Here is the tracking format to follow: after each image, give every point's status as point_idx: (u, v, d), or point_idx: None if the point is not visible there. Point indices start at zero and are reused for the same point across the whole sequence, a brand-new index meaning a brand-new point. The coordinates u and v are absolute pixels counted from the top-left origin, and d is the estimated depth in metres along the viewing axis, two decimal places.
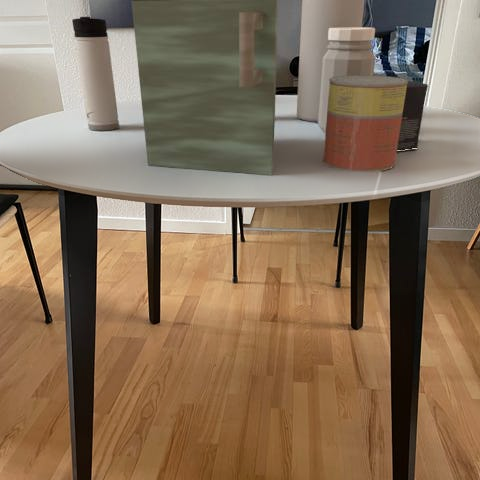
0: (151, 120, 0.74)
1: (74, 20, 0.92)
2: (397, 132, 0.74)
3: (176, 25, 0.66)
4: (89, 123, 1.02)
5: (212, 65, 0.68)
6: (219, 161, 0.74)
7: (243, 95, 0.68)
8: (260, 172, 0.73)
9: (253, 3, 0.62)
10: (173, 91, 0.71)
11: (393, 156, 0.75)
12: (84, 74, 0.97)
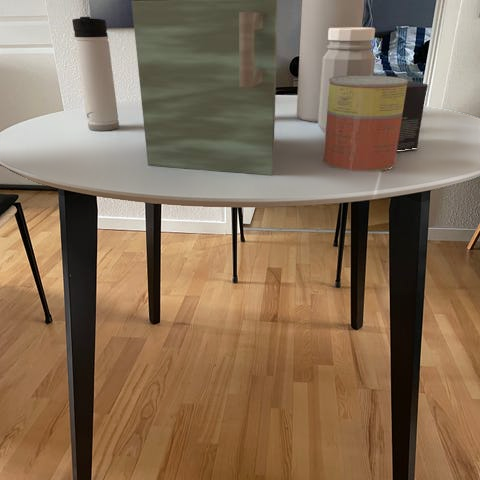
0: (151, 120, 0.74)
1: (74, 20, 0.92)
2: (397, 132, 0.74)
3: (176, 25, 0.66)
4: (89, 123, 1.02)
5: (212, 65, 0.68)
6: (219, 161, 0.74)
7: (243, 95, 0.68)
8: (260, 172, 0.73)
9: (253, 3, 0.62)
10: (173, 91, 0.71)
11: (393, 156, 0.75)
12: (84, 74, 0.97)
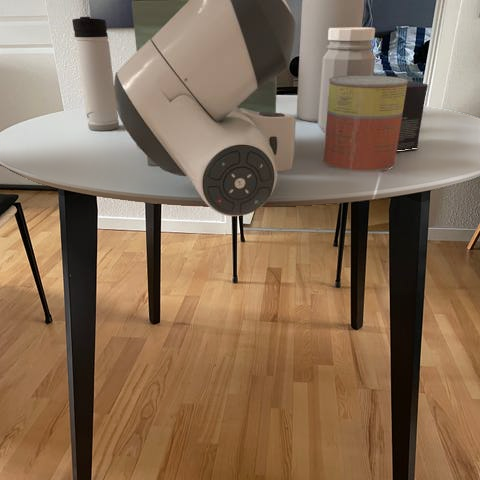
0: None
1: (74, 20, 0.92)
2: (397, 132, 0.74)
3: None
4: (89, 123, 1.02)
5: None
6: None
7: None
8: None
9: None
10: None
11: (393, 156, 0.75)
12: (84, 74, 0.97)
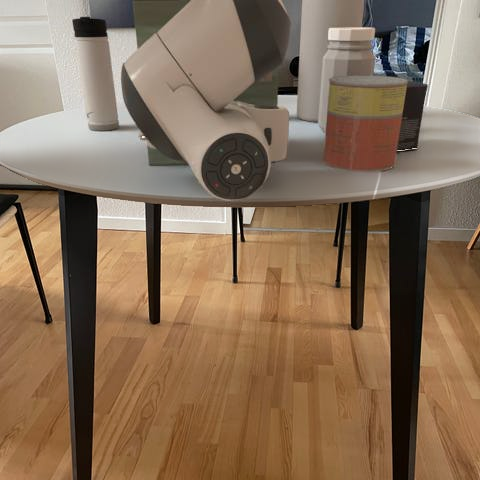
0: None
1: (74, 20, 0.92)
2: (397, 132, 0.74)
3: None
4: (89, 123, 1.02)
5: None
6: None
7: (249, 89, 0.73)
8: None
9: None
10: None
11: (393, 156, 0.75)
12: (84, 74, 0.97)
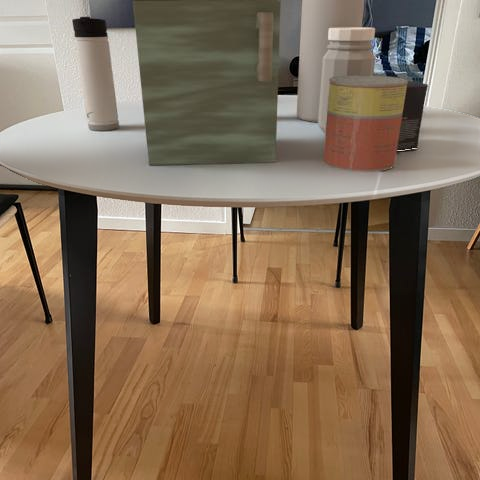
0: (153, 119, 0.74)
1: (74, 20, 0.92)
2: (397, 132, 0.74)
3: (181, 25, 0.68)
4: (89, 123, 1.02)
5: (218, 62, 0.71)
6: (224, 154, 0.78)
7: (249, 89, 0.73)
8: (265, 160, 0.79)
9: (258, 4, 0.68)
10: (177, 89, 0.73)
11: (393, 156, 0.75)
12: (84, 74, 0.97)
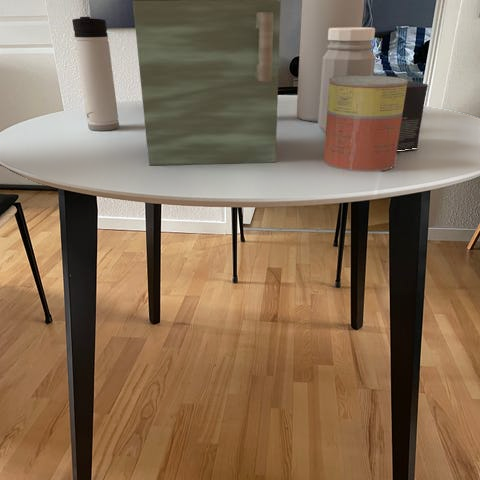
0: (153, 119, 0.74)
1: (74, 20, 0.92)
2: (397, 132, 0.74)
3: (181, 25, 0.68)
4: (89, 123, 1.02)
5: (218, 62, 0.71)
6: (224, 154, 0.78)
7: (249, 89, 0.73)
8: (265, 160, 0.79)
9: (258, 4, 0.68)
10: (177, 89, 0.73)
11: (393, 156, 0.75)
12: (84, 74, 0.97)
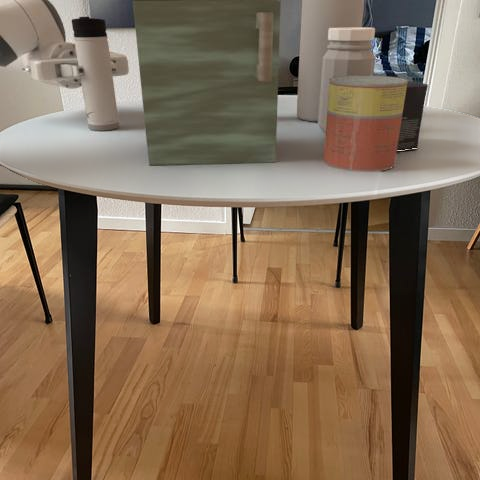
0: (153, 119, 0.74)
1: (73, 20, 0.92)
2: (397, 132, 0.74)
3: (181, 25, 0.68)
4: (89, 123, 1.02)
5: (218, 62, 0.71)
6: (224, 154, 0.78)
7: (249, 89, 0.73)
8: (265, 160, 0.79)
9: (258, 4, 0.68)
10: (177, 89, 0.73)
11: (393, 156, 0.75)
12: (84, 74, 0.97)
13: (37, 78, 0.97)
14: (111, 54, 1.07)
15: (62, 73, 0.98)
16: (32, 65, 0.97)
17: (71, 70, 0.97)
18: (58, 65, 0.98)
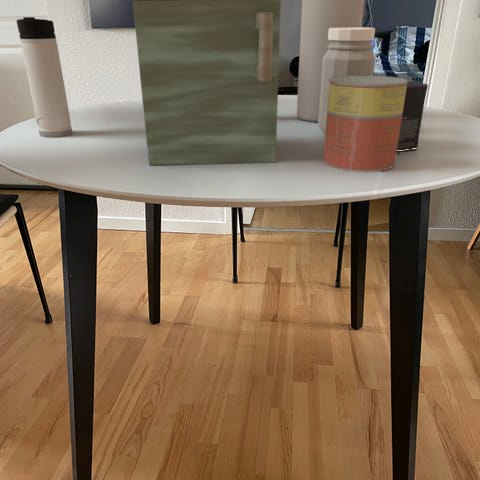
0: (153, 119, 0.74)
1: (18, 21, 0.87)
2: (397, 132, 0.74)
3: (181, 25, 0.68)
4: (39, 129, 0.97)
5: (218, 62, 0.71)
6: (224, 154, 0.78)
7: (249, 89, 0.73)
8: (265, 160, 0.79)
9: (258, 4, 0.68)
10: (177, 89, 0.73)
11: (393, 156, 0.75)
12: (32, 78, 0.91)
13: None
14: None
15: None
16: None
17: None
18: None
